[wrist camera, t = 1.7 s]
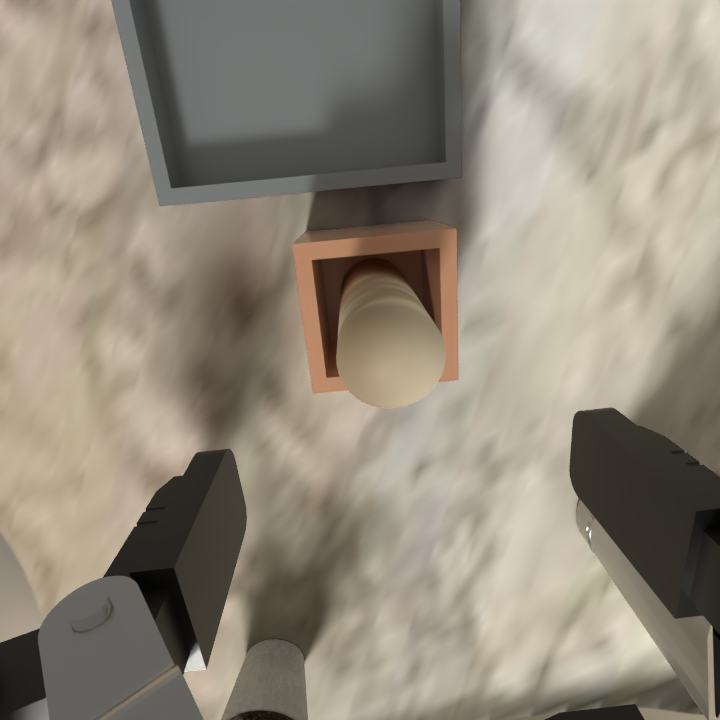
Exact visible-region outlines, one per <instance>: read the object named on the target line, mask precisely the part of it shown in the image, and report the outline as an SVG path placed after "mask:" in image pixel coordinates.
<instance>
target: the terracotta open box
mask: <svg viewBox="0 0 720 720" xmlns="http://www.w3.org/2000/svg"><path fill="white" fill-rule="evenodd" d="M292 247H293V254H294V261H295V269H296V276H297V283H298V290H299V297H300V304H301V312H302V319H303V326H304V333H305V340H306V347H307V355H308V362H309V369H310V376H311V383H312V391H313V393H323V392H334V391H345V390H348V389H347V388H346V387H345V385H344V384H343V382H342V380H341V378H340V376H339V373H338V369H337V362H336V354H337V341H338V327H339V314H340V300H341V287H342V282H343V279H344V277H345V275H346V273H347V272H348V270H349V269H350V268H351V267H352V266H353V265H354V264H356V263H357V262H359V261H361V260H364V259H368V258H381V259H385V260H387V261H389V262H391V263H393V264H394V265H395V266H396V267H397V268H398V269H399V270H400V271H401V273H402V274H403V276H404V277H405V279H406V280H407V282H408V284H409V285H410V287H411V288H412V290H413V291H414V293H415V294H416V296H417V297H418V299H419V300H420V302H421V303H422V305H423V306H424V308H425V310H426V311H427V313H428V314H429V316H430V317H431V319H432V320H433V322H434V323H435V325H436V326H437V328H438V330H439V331H440V333H441V335H442V338H443V340H444V344H445V349H446V361H445V367H444V370H443V373H442V375H441V377H440V379H439V381H438V382H443V381H454V380H458V299H457V229H456V228H453V227H450V226H448V225H445V224H442V223H439V222H436V221H433V220H422V221H412V222H401V223H390V224H380V225H369V226H359V227H348V228H338V229H327V230H317V231H306V232H305V233H304V234H303V235H301V236H300V237H299V238H298V239H297V240H296V241H295V242H294V243H293V244H292Z"/></svg>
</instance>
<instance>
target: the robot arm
mask: <svg viewBox="0 0 720 720" xmlns="http://www.w3.org/2000/svg"><path fill="white" fill-rule="evenodd" d="M570 478H571V482H572V486H573V488H574V490H575V492H576V494H577V496H578V497H579V498H580V500H579V502H578V507H577V511H576V518H577V524H578V528H579V531H580V532H581V534H582V535H583V537H584V538H585V540H586V541H587V543H588V544H589V546H590V548H591V550H592V551H593V553H595V555H596V556H597V558H598V559H599V561H600V562H601V564H602V565H603V567H604V568H605V570H606V571H607V573H608V574H609V576H610V577H611V579H612V580H613V582H614V583H615V585H616V586H617V588H618V589H619V591H620V592H621V593H622V595H623V596H624V598H625V599H626V601H627V602H628V604H629V605H630V607H631V608H632V610H633V611H634V613H635V614H636V616H637V617H638V618H639V620H640V621H641V623H642V624H643V626H644V627H645V629H646V630H647V632H648V633H649V635H650V636H651V638H652V639H653V641H654V642H655V643H656V645H657V646H658V648H659V649H660V651H661V652H662V654H663V655H664V657H665V658H666V660H667V661H668V663H669V664H670V666H671V667H672V669H673V670H674V671H675V673H676V674H677V676H678V677H679V679H680V680H681V682H682V683H683V685H684V686H685V688H686V689H687V691H688V692H689V694H690V695H691V696H692V698H693V699H694V701H695V702H696V704H697V705H698V707H699V708H700V710H701V711H702V713H703V714H704V716H705V717H706V719H707V720H720V477H719V476H718V475H716V474H715V473H714V472H712V471H711V470H710V469H708V468H707V467H706V466H704V465H700V464H699V461H697V460H696V459H695V458H693V457H692V456H691V455H689V454H688V453H684V450H683V449H681V448H680V447H679V446H677V445H676V444H674V443H673V442H672V441H670V440H669V439H668V438H666V437H665V436H663V435H660V434H658V433H656V432H653V431H651V430H648V429H646V428H644V427H641V426H637V425H635V424H634V423H633V422H632V421H630V420H629V419H628V418H626V417H625V416H624V415H622V414H621V413H620V412H619V411H617V410H616V409H614V408H603V409H594V410H585V411H578V412H577V413H576V414H575V416H574V419H573V428H572V442H571V455H570ZM246 521H247V515H246V505H245V500H244V496H243V491H242V487H241V483H240V478H239V474H238V470H237V465H236V461H235V457H234V454H233V452H232V451H231V450H230V449H224V450H215V451H206V452H198V453H196V454H195V455H194V457H193V459H192V461H191V463H190V464H189V466H188V468H187V470H186V471H185V473H184V475H183V476H176V477H173V478H172V479H171V480H170V481H168V482H167V483H166V484H165V485H164V486H163V487H161V488H160V489H159V490H158V491H157V492H156V493H155V495H154V496H153V498H152V499H151V501H150V503H149V504H148V506H147V507H146V512H143V514H142V516H141V517H140V519H139V520H138V522H137V527H134V528H133V530H132V532H131V533H130V535H129V536H128V538H127V540H126V541H125V543H124V545H123V546H122V548H121V549H120V551H119V553H118V554H117V556H116V557H115V559H114V561H113V562H112V564H111V565H110V567H109V569H108V570H107V572H106V573H105V575H104V577H103V578H100V579H97V580H95V581H92V582H90V583H88V584H85V585H83V586H82V587H80V588H78V589H76V590H75V591H73V592H72V593H70V594H69V595H67V596H66V597H65V598H64V599H62V600H61V601H60V602H59V603H58V604H57V605H56V606H55V607H54V608H53V609H52V610H51V611H50V613H49V614H48V615H47V616H46V618H45V620H44V621H43V623H42V625H41V627H40V629H37V630H35V631H32V632H29V633H27V634H23V635H21V636H18V637H15V638H12V639H10V640H7V641H4V642H1V643H0V720H203V717H202V715H201V713H200V711H199V709H198V707H197V705H196V702H195V700H194V698H193V696H192V694H191V692H190V689H189V687H188V685H187V683H186V681H185V679H184V677H183V674H184V672H189V671H198V670H206V669H207V666H208V662H209V659H210V655H211V651H212V648H213V644H214V641H215V637H216V634H217V630H218V627H219V623H220V620H221V616H222V612H223V609H224V605H225V602H226V598H227V595H228V591H229V588H230V584H231V581H232V577H233V573H234V570H235V566H236V563H237V559H238V556H239V552H240V549H241V545H242V542H243V538H244V534H245V530H246ZM545 720H644V718H643V716H642V715H641V713H640V711H639V710H638V708H637V706H636V704H633V705H624V706H615V707H606V708H598V709H589V710H580V711H571V712H562V713H558V714H556V715H554V716H552V717H550V718H548V719H545Z"/></svg>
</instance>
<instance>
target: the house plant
mask: <svg viewBox="0 0 720 720" xmlns="http://www.w3.org/2000/svg"><path fill="white" fill-rule="evenodd" d="M221 720H308V714H307V699H306V684H305V668H304V657H303V654H302V652H301V650H300V649H299V648H298V647H297V646H296V645H294V644H292V643H290V642H288V641H284V640H279V639H269V640H264V641H261V642H258V643H257V644H255V645H253V646H252V647H251V648H250V649H249V651H248V653H247V655H246V657H245V660H244V663H243V665H242V668H241V670H240V673H239V675H238V678H237V680H236V683H235V686H234V688H233V691H232V693H231V696H230V698H229V701H228V703H227V706H226V709H225V711H224V714H223V716H222V719H221Z"/></svg>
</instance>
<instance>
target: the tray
mask: <svg viewBox="0 0 720 720" xmlns="http://www.w3.org/2000/svg"><path fill="white" fill-rule="evenodd" d="M111 1H112V5H113V9H114V14H115V18H116V22H117V26H118V31H119V35H120V39H121V43H122V48H123V52H124V56H125V60H126V65H127V69H128V73H129V78H130V82H131V86H132V90H133V95H134V99H135V103H136V107H137V112H138V116H139V120H140V124H141V129H142V133H143V137H144V141H145V146H146V150H147V154H148V158H149V163H150V167H151V171H152V176H153V180H154V184H155V188H156V193H157V197H158V201H159V205H160V206H168V205H181V204H191V203H202V202H212V201H223V200H233V199H244V198H254V197H265V196H275V195H285V194H296V193H306V192H317V191H327V190H338V189H348V188H359V187H369V186H380V185H390V184H400V183H411V182H421V181H432V180H442V179H452V178H460V177H462V159H461V37H460V0H111Z"/></svg>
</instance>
